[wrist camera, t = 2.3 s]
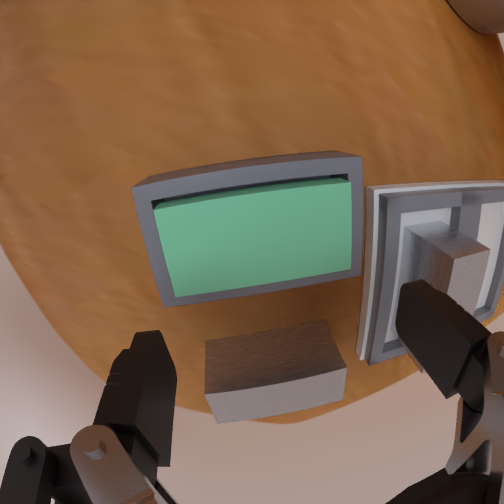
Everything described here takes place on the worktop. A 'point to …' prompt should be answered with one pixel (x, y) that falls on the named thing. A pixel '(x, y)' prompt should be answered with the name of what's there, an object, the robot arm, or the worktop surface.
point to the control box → (240, 178)
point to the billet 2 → (442, 265)
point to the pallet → (391, 242)
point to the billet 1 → (273, 372)
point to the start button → (256, 235)
